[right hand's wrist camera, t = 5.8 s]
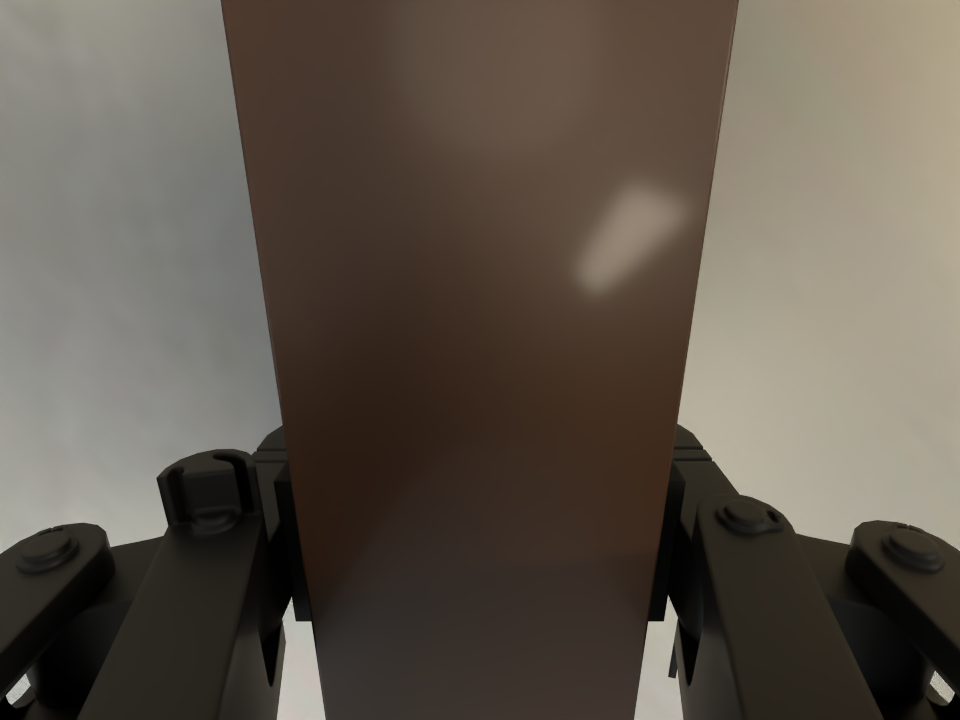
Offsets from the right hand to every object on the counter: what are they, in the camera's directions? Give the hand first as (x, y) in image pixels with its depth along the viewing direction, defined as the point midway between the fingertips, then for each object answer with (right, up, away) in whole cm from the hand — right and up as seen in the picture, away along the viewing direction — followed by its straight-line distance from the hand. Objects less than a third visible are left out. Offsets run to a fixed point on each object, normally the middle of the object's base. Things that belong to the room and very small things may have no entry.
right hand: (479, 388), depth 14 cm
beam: (0, +8, -2) cm, 8 cm away
